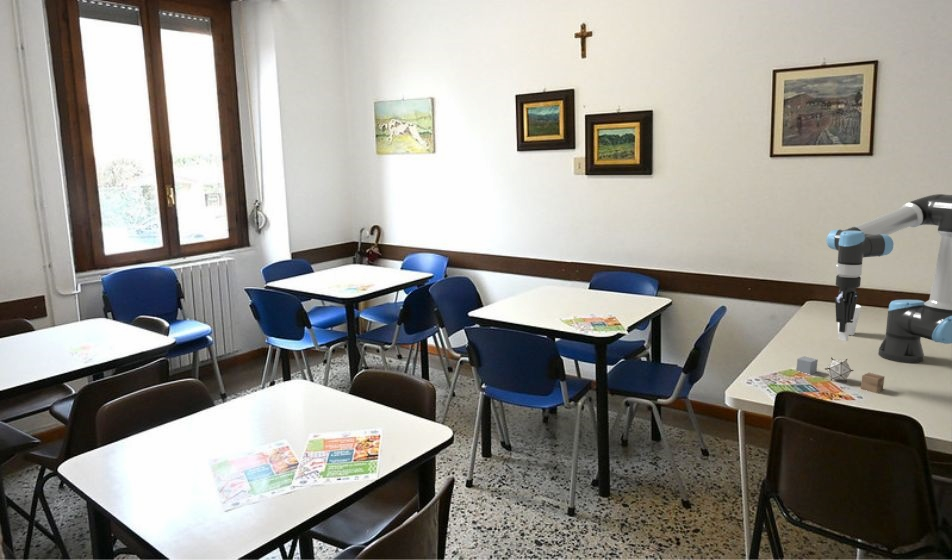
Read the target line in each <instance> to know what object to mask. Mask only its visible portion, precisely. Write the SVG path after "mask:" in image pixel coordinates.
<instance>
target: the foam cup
mask: <svg viewBox="0 0 952 560" xmlns="http://www.w3.org/2000/svg"><path fill="white" fill-rule="evenodd" d="M861 310H862V306H861V305H860V304H857V303H856V307H855V312H854V317H853V320H851V321H853V322H852V323H850V322H849V334H848V335H851V336H854V335H855V332H856V329H857V325H858V321H859V317H860V314H861ZM837 333H838V334H839V322H837Z"/></svg>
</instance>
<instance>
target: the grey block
mask: <svg viewBox="0 0 952 560" xmlns="http://www.w3.org/2000/svg"><path fill="white" fill-rule="evenodd" d="M818 361H819V360H818V358H814V357H809V356H801V357H798V358H797V362H796V372H797V371H800V372H799V373H801V372H803V373H802V374H804V373H807V374H806V375H808V374H811V375H813V374H815V372H816V373H817V370H818ZM812 373H813V374H812Z"/></svg>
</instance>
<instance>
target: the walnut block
mask: <svg viewBox="0 0 952 560" xmlns="http://www.w3.org/2000/svg"><path fill="white" fill-rule="evenodd" d="M884 383H885V376H884V375H880V374H878V373H877V374H876V373H874V372H873V373H872V372H867V373H864V374H862V376H861V383H860V384H861V385H860V390H863V391H866V390H867V392H870V393H871V392H872V393H875V394H877V392H878V393H879V391H880V392H881V390H882V391H883V390H884V386H885V385H884Z"/></svg>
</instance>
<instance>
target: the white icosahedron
mask: <svg viewBox="0 0 952 560" xmlns="http://www.w3.org/2000/svg"><path fill="white" fill-rule="evenodd" d="M824 370H825V371H826V370H827V371H826V372H828V374H829V376H830V380H831V381H833V380H839V381H840V380H841V381H845V383H847V382H848V380H847V379H848V378H849V376H850V374H851V372H854V369H851V367H850V365H849V363H848V358H846V359H833V357H830V362H829V364H828V366H827V367H825V368H824Z"/></svg>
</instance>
